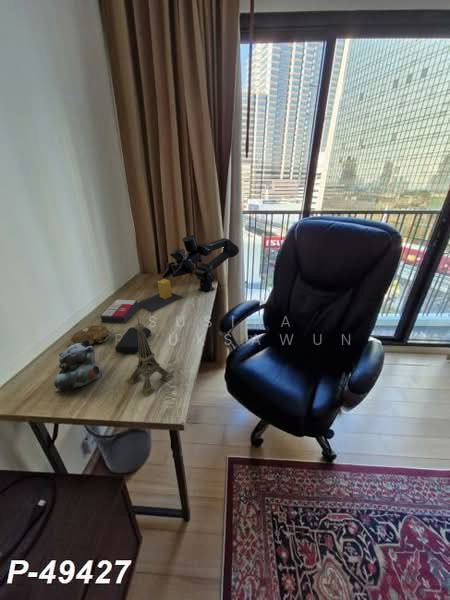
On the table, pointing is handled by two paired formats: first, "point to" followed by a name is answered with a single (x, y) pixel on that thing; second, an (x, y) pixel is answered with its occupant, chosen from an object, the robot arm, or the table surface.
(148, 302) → the mat
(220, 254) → the robot arm
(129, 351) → the carrying case
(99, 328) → the decorative rock
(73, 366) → the grey lumpy figure
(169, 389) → the table surface
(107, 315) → the red and white box
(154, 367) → the eiffel tower
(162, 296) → the block
